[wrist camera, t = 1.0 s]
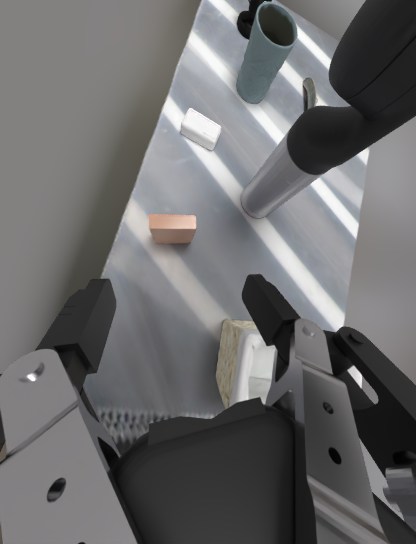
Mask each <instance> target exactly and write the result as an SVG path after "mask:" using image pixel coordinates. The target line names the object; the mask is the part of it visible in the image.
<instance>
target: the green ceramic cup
mask: <svg viewBox="0 0 416 544" xmlns="http://www.w3.org/2000/svg"><path fill="white" fill-rule="evenodd" d="M296 40H297V27H296V23H295V21H294V19H293V17H292V16H291V14H290V13H289V12H288V11H287V10H286V9H285V8H284V7H282V6H281V5H279V4H277V3H275V2H269V1H268V2H264V3H262V4H261V5H260V6H259V7H258V9H257V12H256V15H255V19H254V23H253V26H252V30H251V34H250V39H249V42H248V46H247V49H246V53H245V55H244V61H243V63H242V67H241V70H240V73H239V76H238V80H237V90H238V93H239V95H240V96H241V97H242V98H243V99H244V100H245V101H247V102H249V103H252V104H257V103H259V102H261V101H262V99H263V98H264V96H265V95H266V93H267V91H268V89H269V87H270V85H271V83H272V82H273V80H274V78H275V77H276V74H277V72H278V71H279V69H280V68H281V67H282V65H283V63H284V61H285V60H286V58H287V56H288V55H289V53H290V51H291V49H292V48H293V46H294V44H295V43H296Z"/></svg>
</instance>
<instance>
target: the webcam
mask: <svg viewBox="0 0 416 544" xmlns="http://www.w3.org/2000/svg"><path fill="white" fill-rule="evenodd" d="M264 1H267V2H268V1H269V2H272V0H249V3H250V5H249V11H243V12H241V13H240V14H239V16H238V20H237V25H238V28H239V30H240V32H241V34H242V35H243V36H245V37H246V38H248V39H250V34H251V30H249V29H248V28H247V27H246V26H245V25H244V24H243V22H247V23H249V24H250V25H251V26H253V23H254V19H255V15H256V12H257V9H258V7H259V6H260V5H261V4H262V3H263V2H264Z"/></svg>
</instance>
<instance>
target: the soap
mask: <svg viewBox="0 0 416 544" xmlns="http://www.w3.org/2000/svg"><path fill="white" fill-rule="evenodd" d="M220 133H221V126H220V125H218V124H216V123H215V122H213V121H212V120H210V119H208V118H207V117H205V116H203V115H202V114H200V113H198V112H197V111H195V110H193V109H192V108H189V109H188V111H187V113H186V115H185V117H184V119H183V121H182V124H181V134H182V135H184V136H186V137H187V138H189V139H191V140H193V141H195V142H196V143H198V144H200V145H202V146H203V147H205V148H207V149H208V150H210V151H212V150H213V149H214V147H215V145H216V143H217V140H218V138H219V136H220Z"/></svg>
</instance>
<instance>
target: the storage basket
mask: <svg viewBox="0 0 416 544" xmlns="http://www.w3.org/2000/svg"><path fill="white" fill-rule="evenodd" d="M275 350H276V347H275V345H273V346H266V344H265V342H264V340H263V338H262V336H261V335H260V333H259V331H258V329H257V327H256V325H255V323H254V322H252V321H240V320H227V319H226V320H224V323H223V326H222V332H221V340H220V349H219V353H218V363H217V371H216V381H217V384H218V388H219V392H220V394H221V397H222V401H223V403H224V406H225V408H226V409H227V408H229V407H230V406H232V405H233V404H235V403H237V402H241V401H245V400H249V399H253V398H257V397H260V398H261V400H262V403H263V404H265V402H266V398H267V394H268V392H269V389H270V386H271V380H272V371H273V362H274V353H275ZM347 371H348V372H349V373H350V375H351V376H352V377H353V378H354V380H355V381H356V382H357V383H358V385H359V386H360V387H362V385H361V384H362V375H361V374H360V372H359V371H358V370H357V369H356V368H355V366H353V367H351V368H350V369H348V370H347Z"/></svg>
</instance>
